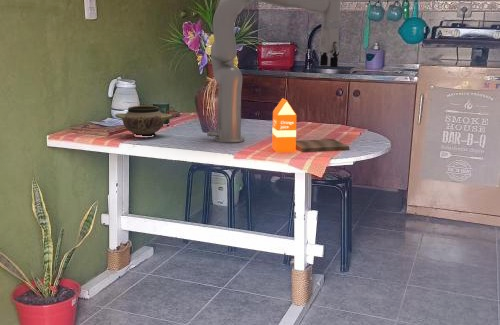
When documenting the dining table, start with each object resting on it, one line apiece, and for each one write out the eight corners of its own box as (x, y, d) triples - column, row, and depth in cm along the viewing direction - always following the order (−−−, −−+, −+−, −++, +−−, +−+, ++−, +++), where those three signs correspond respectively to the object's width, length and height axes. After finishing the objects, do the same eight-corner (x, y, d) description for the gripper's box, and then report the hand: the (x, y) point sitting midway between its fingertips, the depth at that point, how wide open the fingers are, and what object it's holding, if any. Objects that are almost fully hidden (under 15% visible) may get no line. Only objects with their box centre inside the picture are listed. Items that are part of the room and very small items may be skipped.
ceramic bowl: (174, 140, 267) (175, 106, 268) (169, 137, 250) (169, 101, 250) (119, 139, 267) (120, 106, 268) (110, 136, 250) (111, 101, 250)
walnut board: (302, 152, 231) (302, 148, 231) (288, 144, 246) (288, 140, 246) (349, 149, 237) (349, 146, 236) (333, 142, 252) (333, 138, 251)
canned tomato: (173, 125, 289) (172, 103, 287) (159, 127, 284) (158, 104, 281) (163, 123, 295) (163, 101, 292) (150, 125, 289) (149, 102, 287)
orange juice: (290, 147, 240) (292, 97, 236) (295, 152, 232) (297, 100, 227) (271, 147, 239) (272, 98, 235) (276, 152, 231) (277, 100, 226)
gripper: (314, 25, 261) (312, 65, 265) (331, 25, 245) (329, 67, 249) (329, 25, 263) (327, 64, 267) (347, 25, 247) (345, 67, 251)
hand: (328, 66), depth 258 cm, fingers open, 9 cm apart
